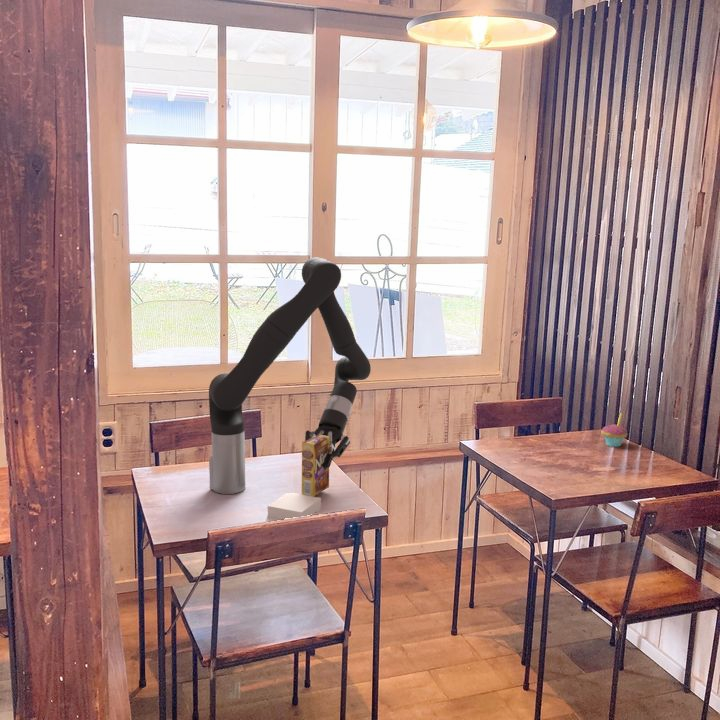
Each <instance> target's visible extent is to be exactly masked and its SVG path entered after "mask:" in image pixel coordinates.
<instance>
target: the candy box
mask: <svg viewBox="0 0 720 720" xmlns="http://www.w3.org/2000/svg"><path fill="white" fill-rule="evenodd" d="M328 448H329V436H325V435H316V436H314V437H313V438H311V439H308V440H306V441H305V440H304V441H302V442H301V495H306V496H312V497H316V496H317V495H319V494H320V493H321V492H324V491H325V490H327V489H328V488H330V467H329V468H327V469H324V468H323V463H324V460H325V457H326V454H328Z"/></svg>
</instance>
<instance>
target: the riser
mask: <svg viewBox="0 0 720 720" xmlns="http://www.w3.org/2000/svg"><path fill="white" fill-rule="evenodd" d="M321 509H322V498H321V497H317V496H314V497H312V496H306V495H302V493H296V492H295V493H293V492H286V493H285V494H283V495H282V496H280V497H279V498H277V499H276V500H274V501H273V502H271V503H270V504H269V505H267V517H268V518H273V519H277V520H281V519H285V518H293V517H301V516H307V515H311V514H313V515H315V514H316V513H317V512H319V511H320V510H321ZM315 512H316V513H315Z"/></svg>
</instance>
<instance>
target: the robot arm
mask: <svg viewBox="0 0 720 720" xmlns="http://www.w3.org/2000/svg"><path fill="white" fill-rule="evenodd" d="M301 277H302V280H303V282H304V285H303V286H301V287H302V288H301V289H300V290H299V291H298V292H297V293H296V294H295V296H294V297H292V298H291V299H290V300H288V301H287V302H285V303H284V304H283V305H281V306H279V307H278V308H276V309H275V310H274V311H272V312H271V313H270V314H269V315H268V316H267V317H266V318H265V319H264V321H263V322H262V324H261V325H260V326H259V327H258V328H257V329H256V331H255V332H254V334H253V335H252V338H251V340H250V341H249V343H248V346H247V348H246V350H244V351H245V352H244V354H243V355H242V357H241V359H239V361H238V363H237V364H236V365H235V366H234V367H233V368H232V369H231V371H230V372H229V373H225V372H224V373H221V374H218V375H216V376H215V377H213V379H212V380H211V381H210V383H209V387H208V402H209V403H208V404H209V406H208V408H209V421H210V429H211V430H210V431H211V434H210V435H211V456H210V457H209V458H208V462H209V463H208V465H209V466H208V468H209V469H208V470H209V490H211V491H213V492H215V493H217V494H223V495H232V494H238V493H241V492H244V491H245V489H246V447H245V445H246V442H245V420H244V415H243V414H244V413H243V403H244V402H245V401H246V399H247V397H248V396H249V394H250V393H251V391H252V390H253V388H254V387H255V385H256V384H257V382H258V381H259V379H260V378H261V377H262V375H263V374H264V373H265V371H266V370H267V369H268V368H270V366H271V365H272V364H273V363H274V362H275V361H276V359H277V358H278V357H279V355H280V354H281V353H283V351H284V350H285V348H286V347H287V346H288V345H289V344H290V343H291V341H292V340H293V338H295V336H296V334H297V333H298V332H299V331H300V330H301V328H302V327H303V326H304V325H305V323H306V322H307V321H308V320H309V319H310V317H311V316H312V315H313V314H314V312H315V311H316V310H317V309H318V311H319V313H320V316H321V317H322V320H323V323H324V326H325V328H326V331H327V333H328V336H329V339H330V342H331V345H332V348H333V351H334V352H335V354H337V355H338V356H342V357H341V358H340V359H339V360H337V362H336V365H335V367H334V381H333V388H332V391H331V393H330V396H329V398H328V400H327V402H326V404H325V407H324V410H323V411H322V415H321V418H320V420H319V423H318V427H317V428H316V429H315V431H310V430H308V429H307V430H306V431H305V438H304V441H306V440H308V439H311V438H313V437H315V436H316V435H325V436H329V448H328V454H326V457H325V460H324V463H323V468H324V469H327V468H329V469H330V467H331V465H332V462H333V459H334V458H335V457H336V458H341V456H342V455H343V453H344V452H345V451H346V449H347V448H348V447H349V445H350V444H351V440H350V438H349V436H347V435H344V432H345V429H346V426H347V424H348V420H349V418H350V416H351V412H352V407H353V404H354V401H355V398H356V396H357V393H358V390H357V387H356V386H355V384H354V383H352V382H350V381H363V380H364V381H365V380H366V379H368V377H370V374H371V362H370V360H369V358H368V357H367V355H366V353H365V352H364V351H363V350H362V348H361V346H360V345H359V344H358V342H357V339H356V337H355V335H354V331H353V328H352V326H351V324H350V321H349V320H348V317H347V315H346V313H345V312H344V311H343V309H342V307H341V305H340V303H339V301H338V299H337V297H336V294H335V290H337V288H338V287H339V285H340V282H341V280H342V271H341V268H340V266H338V265H337V264H336V263H334V262H332V261H330V260H328V259H325V258H322V257H317V256H315V257H311V258H308V259H307V260H306V261H305V262H304V264H303V265H302V269H301ZM337 444H338V445H337Z"/></svg>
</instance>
